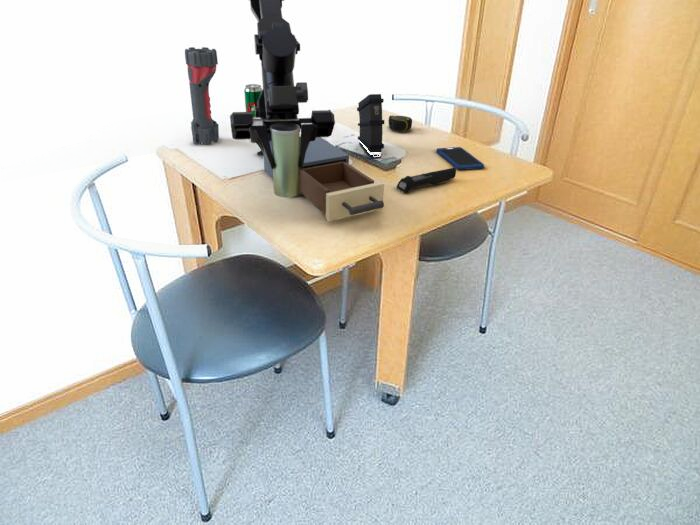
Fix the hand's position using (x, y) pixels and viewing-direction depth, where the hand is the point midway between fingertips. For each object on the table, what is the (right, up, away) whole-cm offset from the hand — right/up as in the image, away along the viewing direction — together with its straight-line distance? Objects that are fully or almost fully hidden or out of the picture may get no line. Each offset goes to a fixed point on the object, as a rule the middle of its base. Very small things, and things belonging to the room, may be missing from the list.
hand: (287, 167), depth 88 cm
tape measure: (+26, +22, +57) cm, 66 cm away
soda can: (-16, +21, +52) cm, 58 cm away
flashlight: (-26, +15, +42) cm, 52 cm away
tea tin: (0, -4, +4) cm, 6 cm away
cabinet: (+1, +2, +23) cm, 23 cm away
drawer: (+10, -5, +10) cm, 15 cm away
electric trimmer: (+29, 0, +22) cm, 36 cm away
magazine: (+16, +13, +41) cm, 46 cm away
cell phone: (+40, +9, +37) cm, 55 cm away
